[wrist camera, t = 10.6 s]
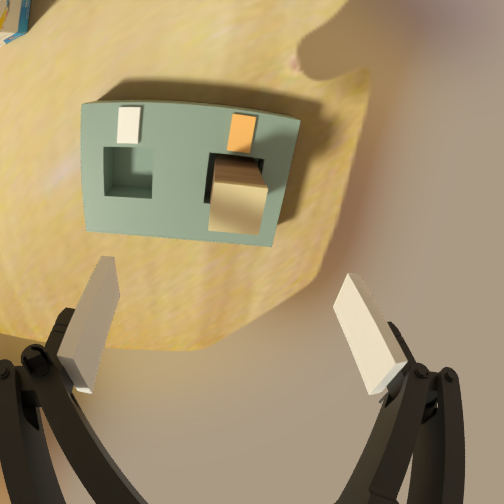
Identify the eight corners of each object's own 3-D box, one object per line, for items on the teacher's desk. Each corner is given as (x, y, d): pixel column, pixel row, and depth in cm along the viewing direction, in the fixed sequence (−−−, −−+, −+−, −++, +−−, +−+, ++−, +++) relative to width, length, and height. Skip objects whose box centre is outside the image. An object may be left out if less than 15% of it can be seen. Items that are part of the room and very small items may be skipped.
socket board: (97, 100, 27) (80, 104, 23) (290, 115, 31) (301, 120, 27) (98, 215, 36) (85, 232, 32) (266, 229, 40) (272, 248, 36)
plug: (215, 151, 32) (213, 182, 23) (253, 156, 33) (268, 188, 24) (210, 187, 35) (208, 230, 25) (247, 191, 35) (258, 235, 26)
